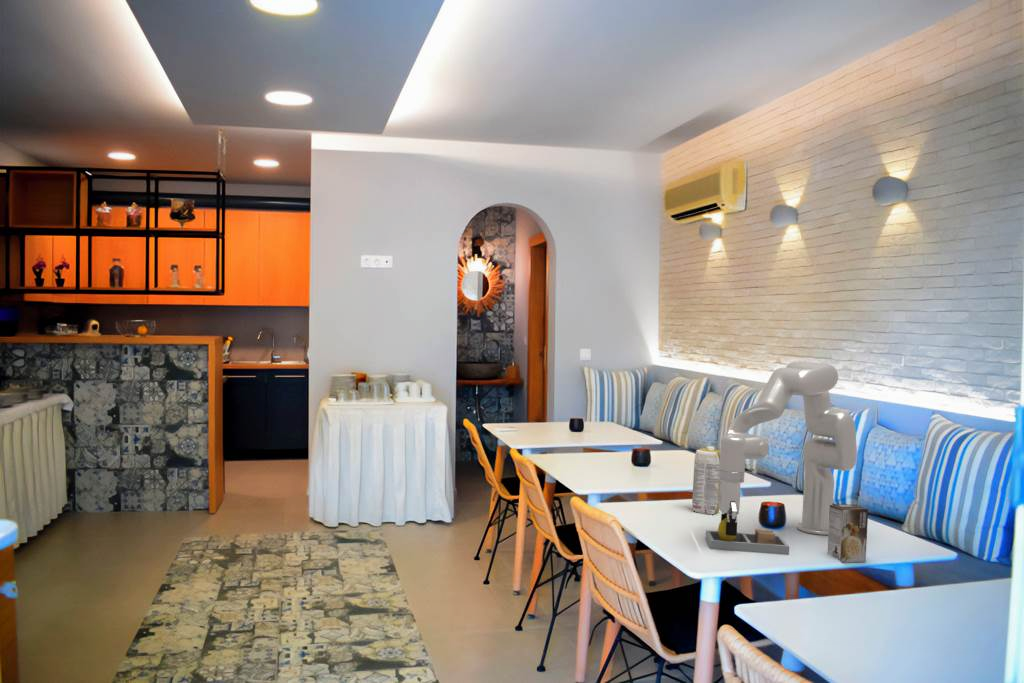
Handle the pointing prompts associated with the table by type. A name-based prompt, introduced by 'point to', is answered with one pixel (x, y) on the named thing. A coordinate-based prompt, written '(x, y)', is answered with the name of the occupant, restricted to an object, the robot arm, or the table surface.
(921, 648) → the table surface
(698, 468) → the juice carton
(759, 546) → the slot tray
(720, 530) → the lemon
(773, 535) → the walnut block
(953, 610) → the table surface
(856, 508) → the coffee box
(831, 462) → the robot arm
